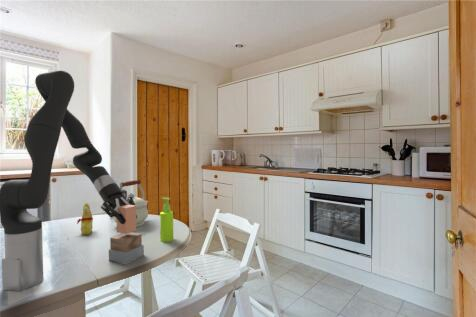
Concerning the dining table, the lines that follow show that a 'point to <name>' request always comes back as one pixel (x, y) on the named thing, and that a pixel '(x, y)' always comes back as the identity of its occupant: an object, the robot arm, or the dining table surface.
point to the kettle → (137, 203)
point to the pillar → (127, 219)
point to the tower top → (125, 241)
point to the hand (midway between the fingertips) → (130, 220)
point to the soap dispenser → (166, 222)
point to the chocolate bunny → (86, 220)
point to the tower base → (126, 255)
